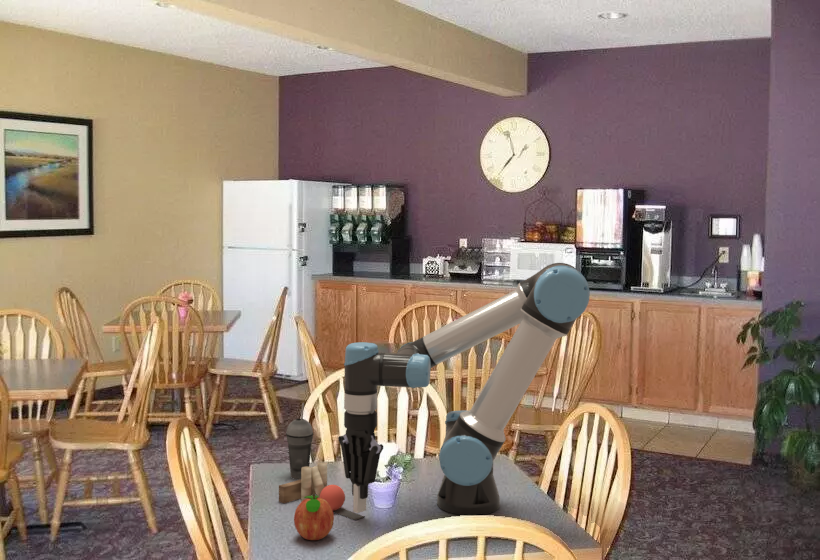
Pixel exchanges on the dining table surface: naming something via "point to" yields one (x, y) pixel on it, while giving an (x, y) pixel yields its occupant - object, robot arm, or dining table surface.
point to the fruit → (313, 518)
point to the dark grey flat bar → (348, 514)
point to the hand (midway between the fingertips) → (359, 510)
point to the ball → (333, 496)
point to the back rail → (292, 491)
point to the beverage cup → (299, 444)
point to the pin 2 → (323, 472)
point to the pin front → (316, 480)
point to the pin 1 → (305, 482)
